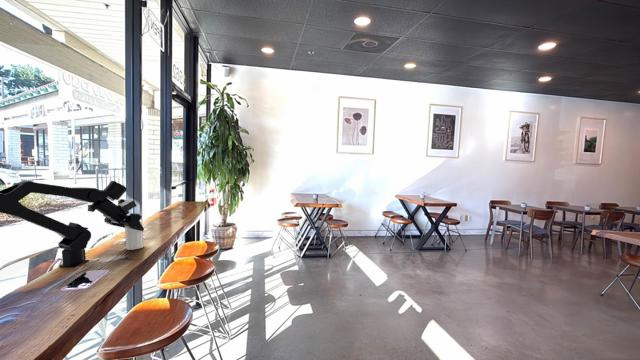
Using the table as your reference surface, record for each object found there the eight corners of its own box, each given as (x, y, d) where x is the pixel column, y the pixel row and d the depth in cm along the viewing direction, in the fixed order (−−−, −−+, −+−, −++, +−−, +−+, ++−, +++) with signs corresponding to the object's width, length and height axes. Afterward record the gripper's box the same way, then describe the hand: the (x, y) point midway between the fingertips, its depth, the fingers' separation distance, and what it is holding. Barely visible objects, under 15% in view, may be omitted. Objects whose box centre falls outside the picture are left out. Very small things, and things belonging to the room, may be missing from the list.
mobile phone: (110, 268, 105) (87, 286, 90) (110, 271, 105) (87, 289, 91) (85, 270, 103) (58, 289, 89) (86, 273, 103) (58, 292, 89)
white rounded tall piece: (132, 250, 127) (130, 223, 126) (123, 248, 130) (121, 222, 129) (146, 246, 133) (145, 220, 132) (137, 244, 136) (136, 219, 135)
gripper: (135, 195, 122) (161, 216, 133) (110, 192, 130) (136, 212, 141) (116, 217, 115) (145, 237, 126) (91, 213, 124) (120, 232, 134)
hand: (137, 229), depth 132 cm, fingers open, 9 cm apart
